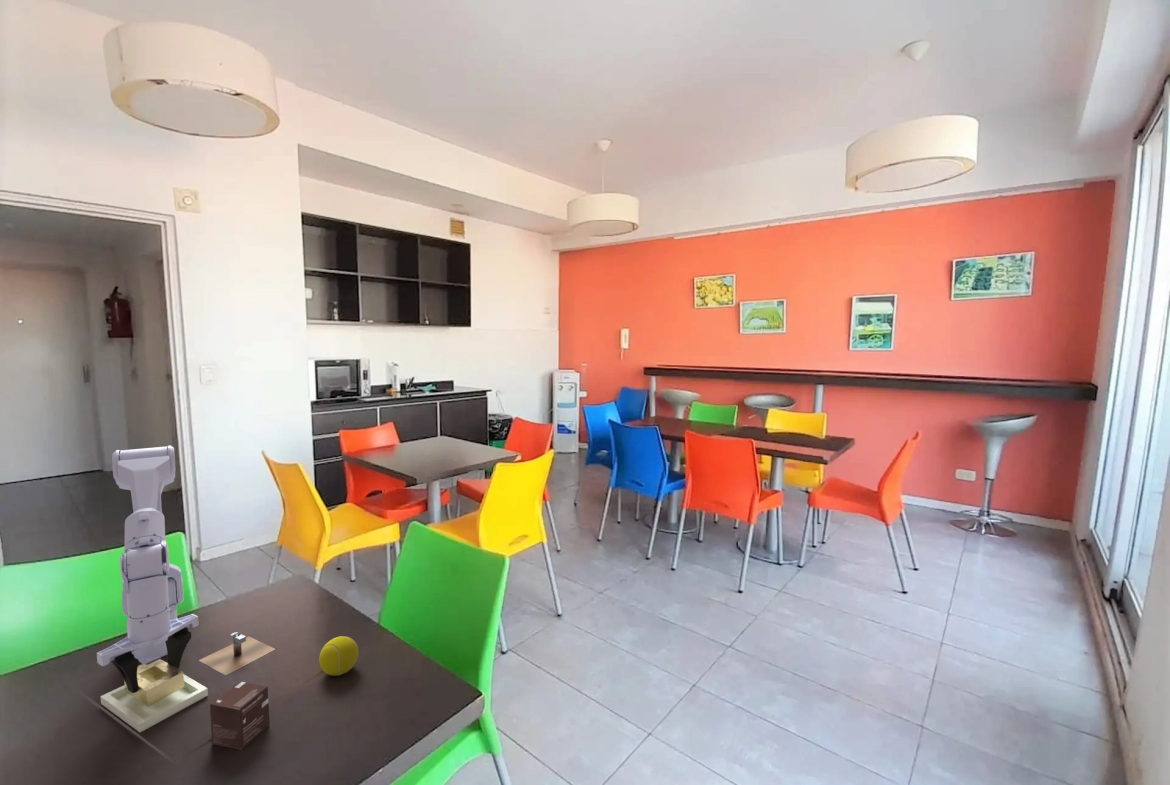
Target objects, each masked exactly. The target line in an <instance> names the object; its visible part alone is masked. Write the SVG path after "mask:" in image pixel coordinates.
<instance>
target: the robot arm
mask: <svg viewBox="0 0 1170 785" xmlns="http://www.w3.org/2000/svg"><path fill="white" fill-rule="evenodd" d="M175 455H176V454H175V447H174V446H172V445H169V444H168V445H167V446H157V447H145V448H135V449H133V448H132V449H123V450H120V449H117V450H115V451H114V452H113V453H112V457H111V458H112V460H111V464H112V465H111V466H112V475H113V479H114V480H115V483H116V485H117V486H118V488H119V489H122V490H128V491H130V495H131V504H132V510H133V513H131V514H130V515H128V516H127V517H126V518H125V520H124V553H120V561H119V562H120V564H119V567H120V568H119V569H120V576H121V580H122V590H121V594H122V595H121V600H122V601H121V605H122V614H123V616H125V617H127V620H126V632H127V636H126V637H124V638H123V639H121V640H119V641H117V642H116V643H114V644H112V645H111V646H108V647H106V648H104V649H103V650H100V651H98V652H96V662H97V664H98V665H99V666H101V667H105V666H107V665H109V664H110V663H111V664H112V665H113V666H114V667H115V668H116V669H117V670H118V672H119V673H120V675H121V677H122V678H123V681H124V680H125V682H126V685H127V688H128V690H129V691H130V692H132V693H135V692H137V691H138V680H137V667H138V666H139V663H140V664H143V663H145V664H147V665H148V664H150V663H152V662H154V661H157V660H159V659H161V658H162V657H165V656H167V663H168V664H170V665H172V666H173V667H175V668H177V669H179V670H180V667H181V661H182V658H183V655H184V652H185V650H186V648H187V646H188V645H189V643H190V640H191V639H192V632H191V631H189V629H190V628H196V627H198V626H200V625H199V624H200V623H199V616H198V615H196V614H195V613H191V614H189V615H185V616H182V617H179V618H178V605H181V604H182V603H183V602H184V584H183V583H184V582H183V575H182V569H181V568H180V567H179V566H177V565H175V564H173V563H170V550H169V546H168V542H167V537H166V526H165V525H166V523H165V522H166V521H165V515H164V514H163V510H162V493H163V490H164V488H165V487H166V486H168V485H170V484H171V483H174V482H175V478H176V470H177V469H176V456H175Z"/></svg>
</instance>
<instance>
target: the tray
mask: <svg viewBox="0 0 1170 785" xmlns="http://www.w3.org/2000/svg"><path fill="white" fill-rule="evenodd" d="M183 676H184V685H185V687H184V688H182V689H180V690H178V691H176V692H174V693H173V694H171V695H169V696H167V697H165V698H163V699H161V700H160V701H158V702H156V703H154V704H152V705H150V706H147V705H145V704H144V703H142V702H141V701H139V700H138V699H136V698H135V697H133V696H132V695H130V694H129V693H127V692H126V691H125V684H124V685H122V686H119V687H116V689H113V690H111V691H109V692H107V693H105V694H101V695H100V704H101V705H102V706H103V707H105V708H106V709H107V710H108V711H110V712H111V713H112V714H114V715H115V716H117V717H118V718H119V719H121V720H122V722H123V721H124V722H125V723H126V724H127V725H128V726H131V728H133V729H134V730H136V731H137V732H138V733H139V734H140V733H142V732H144V731H146V730H148V729H150V728H151V727H153V726H156V725H157V724H159V723H161V722H163V721H164V720H167V719H168V718H169V717H172V716H174V715H175V714H177V713H179V712H181V711H182V710H184V709H186V708H188V707H190V706H191V705H193V704H195V703H197V702H199V701H200V700H203V699H205V698H206V697H208V696H209V693H208V692H209V689H208V687H206V686H205V685H202V684H201V683H200V682H197V681H196V680H194V679H193V678H190V677H189V676H187V675H186V674H184V673H183ZM156 681H157V680H156ZM154 682H155V681H154ZM152 683H153V682H152Z"/></svg>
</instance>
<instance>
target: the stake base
mask: <svg viewBox="0 0 1170 785" xmlns="http://www.w3.org/2000/svg"><path fill="white" fill-rule="evenodd" d="M241 647H242V654H241V655H240V656H237V657H235V656H234V649H233V643H232V644H229V645H227V646H225V647H223V648H222V649H219V650H217V651H215V652H212V653H211V654H208V655H206V656H205V657H203V658H201V659H198V662H200V663H202V664H204V665H206V666H208V667H209V668H211V669H213V670H214V671H216V672H217V673H219V674H222V675H224V676H225V677H227V676H228V675H230V674H232V673H234V672H236V671H238V670H240V669H241V668H243V667H245V666H247V665H248V664H251V663H253V662H255V661H257V660H259V659H260V658H263V657H264V656H266V655H268V654H270V653H272V652H273V651H276V648H274V647H272V646H270V645H268V644H266V643H264V642H262V641H259V640H258V639H255V638H253V637H251V636H249V635H248V636H246V641H245V642H243V643H241Z"/></svg>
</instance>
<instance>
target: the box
mask: <svg viewBox="0 0 1170 785" xmlns="http://www.w3.org/2000/svg"><path fill="white" fill-rule="evenodd" d="M269 706H270V704H269V686H268V685H262V684H257V683H250V682H245V681H239V682H238V683H236V684H235V685H234V686H232V687H230V688H229V689H228V690H225V691H224V692H223V693H222V694H221V695H219V696H218V697H217V698H216V699H215V700H213V701H212V702H210V704H209V712H210V727H211V728H210V730H211V744H212V745H214V746H219V747H227V748H231V749H236V750H243V749H244V748H246V747H247V746H248V745H249V744H250V743H251V742H253V741H254V740H255V739H256V738H257V737H258V736H259V735H260V734H262V733H263V731H265V729H267V728H268V727H269V726H270V723H271V722H270V721H271V720H270V707H269Z"/></svg>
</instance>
